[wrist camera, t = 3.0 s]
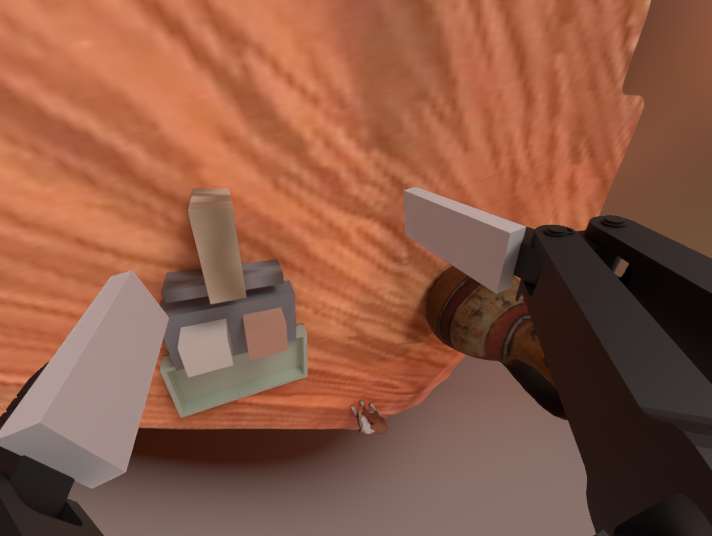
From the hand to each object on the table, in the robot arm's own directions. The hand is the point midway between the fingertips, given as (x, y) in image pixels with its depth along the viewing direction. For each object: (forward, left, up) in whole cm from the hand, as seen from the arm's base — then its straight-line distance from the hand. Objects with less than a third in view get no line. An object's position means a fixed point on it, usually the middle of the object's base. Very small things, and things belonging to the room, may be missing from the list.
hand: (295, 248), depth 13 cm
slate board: (-4, -20, -21) cm, 30 cm away
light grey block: (-8, -20, -18) cm, 28 cm away
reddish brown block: (-1, -20, -18) cm, 27 cm away
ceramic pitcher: (+41, -26, -22) cm, 53 cm away
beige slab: (-4, -8, -21) cm, 23 cm away
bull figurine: (+21, -58, -22) cm, 65 cm away
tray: (-4, -30, -21) cm, 37 cm away
